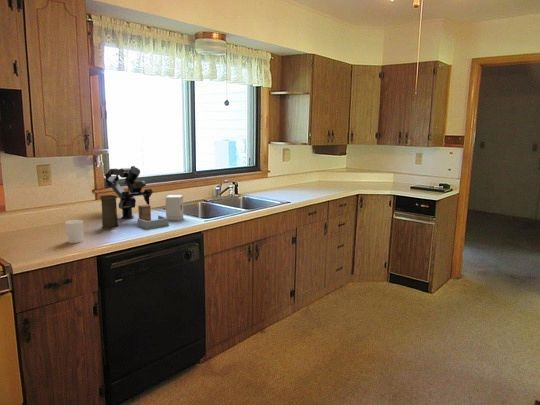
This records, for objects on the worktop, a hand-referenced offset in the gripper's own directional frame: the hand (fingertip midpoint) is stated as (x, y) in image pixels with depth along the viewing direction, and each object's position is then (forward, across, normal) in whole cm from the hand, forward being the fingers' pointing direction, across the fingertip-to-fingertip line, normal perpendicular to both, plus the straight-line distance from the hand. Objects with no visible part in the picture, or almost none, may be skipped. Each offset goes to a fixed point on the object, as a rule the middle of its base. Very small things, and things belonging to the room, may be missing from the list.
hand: (141, 205), depth 238 cm
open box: (+17, 0, -2) cm, 17 cm away
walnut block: (+10, 0, +5) cm, 11 cm away
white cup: (+18, -43, -3) cm, 46 cm away
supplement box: (+11, +19, +4) cm, 22 cm away
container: (+7, -19, +8) cm, 22 cm away
